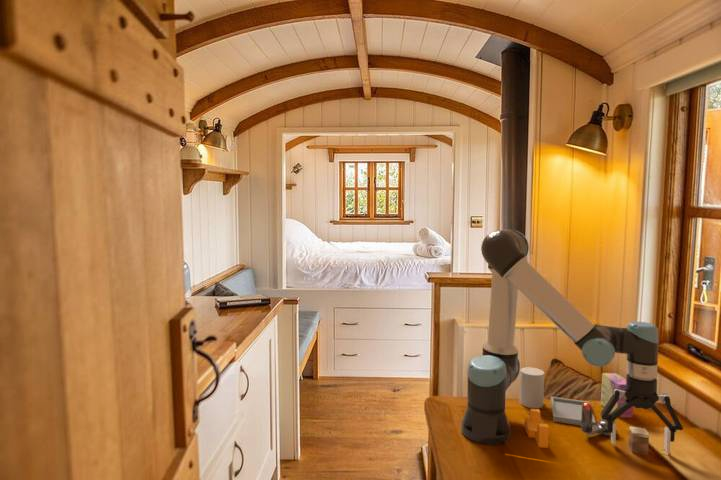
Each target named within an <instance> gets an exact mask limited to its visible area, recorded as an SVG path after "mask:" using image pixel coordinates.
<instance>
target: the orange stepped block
mask: <svg viewBox="0 0 721 480" xmlns="http://www.w3.org/2000/svg"><path fill="white" fill-rule="evenodd" d="M541 418H542V417H541V411H540V408H530V416H529V417H527V418H526V417H524V429H525V432H526V434H527V436H528V438H534V439H535V441H536V445H538V447H539V448H545V449H549V437H550V436H549V434H550V433H549V432H550V429H549V425H548V424H547V423H542V419H541Z"/></svg>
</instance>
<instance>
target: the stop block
mask: <svg viewBox="0 0 721 480" xmlns="http://www.w3.org/2000/svg"><path fill="white" fill-rule="evenodd" d="M628 429H629V433H628V434H629V435H628V437H629V438H628V447H629V449H630V452H631V453H632V454H637V455H645V456H649V444H650V442H649V439H650V434H649V432H648V431H647V429H646V428H643V427H636V426H629V428H628Z"/></svg>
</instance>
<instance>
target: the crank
mask: <svg viewBox="0 0 721 480" xmlns="http://www.w3.org/2000/svg"><path fill="white" fill-rule="evenodd" d="M593 412H594V407H593V405H592V404H591V403H590V402H589V403H584V404H583V405H582V418H581V426H580V427H581V428H580V430H581V431H582V432H583V433H584V434H587V435H588V436H592V435H595V434H596V435H597V434H599V432H603V431H607V432H608V429H607V420H604V419H602V418H599V419H598V422H597V423H598V424H597V423H596V425H594V426H592V418H593V416H594V414H593Z"/></svg>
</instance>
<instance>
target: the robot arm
mask: <svg viewBox="0 0 721 480" xmlns="http://www.w3.org/2000/svg"><path fill="white" fill-rule="evenodd" d="M529 250H530V245H529V241H528V239H527V237H526V236H525V235H524V234H523V233H522V232H520V231H519V230H515V229H512V228H507V229H500V230H494V231H492V232H490V233H488V234H487V235H486V236H485V237H484V238H483V240H482V242H481V249H480V251H481V255H482V258H483V260H484V261H485V262H486V263H487V269H488V270H489V271H490V273H491V275H492V276H491V284H490V285H491V287H490V300H489V302H490V306H489V317H488V331H487V333H488V334H487V341H486V342H485V343H484V344H483V345H482V353H481V354H482V355H479V356H478V355H477V356H475V357H473V358H471V359H470V360H469V362H468V365H467V371H466V372H467V397H466V401H467V404H466V405H467V406H466V408H465V412H464V415H463V418H462V419H461V428H460V429H461V430H460V431H461V433H462V434H463V436H465V438H468V439H469V440H471V441H473V442H476V443H479V444H482V445H489V446H492V445H495V446H496V445H502V444H504V443H505V442H507V441H508V440H509V439H510V438H511V431H512V430H511V425H510V422H509V420H508V416H507V413H506V391H507V390H508V389H509V388H510V386H511V385H512V384H513V383H514V382H515V381H516V380H517V378H518V377H519V376H520V375H519V374H520V369H521V363H520V359H519V349H518V348H517V347H516V346H515V337H516V336H515V335H516V321H517V320H516V319H517V306H518V304H517V303H518V292H519V291H520V292H521V293H522V294H523V296H525V297H526V298H527V299H529V301H530V302H531V303H532V304H534V305H535V307H536V308H537V309H538V310H539V311H540V312H541V313H542V314H544V315H545V316H546V317H547V318H548V319H549V321H551V323H553V324H554V325H555V326H556V327H557V328H558V329H559V330H560V331H561V332H562V333H563V334H564V335H565V336H566V337H567V339H569V340H570V341H571V342H572V343H573V344H574V345H575V346H576V347H577V348H578V349H579V350H580V351H581V353H582V354H581V355H582V356H583V359H584V360H585V361H586V362H587V363H588V364H589V365H591V366H594V367H599V368H601V367H606V366H608V365H610V364H611V362H612V360H613V359H614V358H615V356H616V354H621V355H623V354H624V355H626V371H625V372H626V378H625V379H626V389H625V391H622V390H618V389H617V388H614V390H613V395H612V397H611V398H610V400H609V401H608V403H607V404H606V406H605V407H604V406H603V409H602V410H601V412H600V417H601V419H604V420H607V429H608V432H611V437H610V442H611V444H612V446H616V437H617V435H616V430H617V423H616V420H617V419H618V417H619V416H621V415H622V414H623V413H624V412H625V411H626V410H628V409H630V408H631V407H632V406H633V408H635V409H643V410H648V409H652V411H653V412H654V413H655V414H656V416H657V417H659V418H660V420H661V421H662V422H663V423H664V425H666V426H664V434H663V435H664V436H663V437H664V438H663V439H664V442H663V450H664V451H666V453H668V454H670V453H671V443H672V442H673V443H674V442H675V440H676V439H675V436H676V435H675V434H676V433H677V431H683V430H684V428H683V424H682V423H681V422H680V420H679V417H678V416H677V414H676V412H675V411H674V408H673V406H672V405H671V398H670V396H669V395H668V394H667V393H663V394H658V393H657V391H658V379H657V377H658V360H659V359H658V357H659V328H658V327H657V326H656V325H655V324H653V323H651V322H646V321H630V322H628V324H627V326H626V327H617V326H611V325H609V326H608V325H601V324H597V323H592V322H591V321H590V320H589V319H588V318H587V317H586V316H585V315H584V314H583V313H582V312H581V311H580V310H579V309H578V308H576V307H575V306H574V305H573V304H572V303H571V302H570V300H568V299H567V298H566V297H565V296H564V295H563V294H562V293H560V291H559V290H558V289H556V287H554V286H553V285H552V283H550V282H549V281H548V280H547V279H546V278H545V277H544V276H543V275H541V273H540V272H539V271H537V270H536V269H535V268H534V267H533V266H532V265H531V264H530V263H529V262H528V257H527V256H528V254H529ZM518 290H519V291H518ZM623 395H625V397H626V398H627V399H625V400H624V402H623V403H622V404H621V405H620V406H618V407H617V408H616V409H615V410H614V411H613V412H611V411H612V409H613V408H614V406H615V405H616V403H617V401H618V400H619V398H621V397H622V396H623ZM659 400H660V401H661V403H662V404H664V406H665V408H666V410H667V412H668V414H669V416H670V417H671V419H672V421H673V423H672V422H671V421H670V420H669V419H668V417H666V416H665V414H664V413H663V412H662V411H661V410H660V409H659V408H658V406H657V405H656V403H657V402H658V401H659ZM670 455H671V454H670Z"/></svg>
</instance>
